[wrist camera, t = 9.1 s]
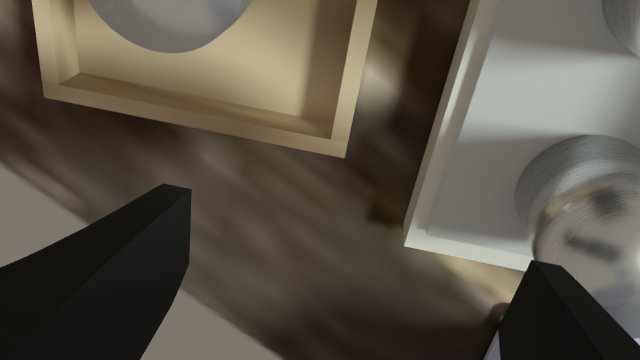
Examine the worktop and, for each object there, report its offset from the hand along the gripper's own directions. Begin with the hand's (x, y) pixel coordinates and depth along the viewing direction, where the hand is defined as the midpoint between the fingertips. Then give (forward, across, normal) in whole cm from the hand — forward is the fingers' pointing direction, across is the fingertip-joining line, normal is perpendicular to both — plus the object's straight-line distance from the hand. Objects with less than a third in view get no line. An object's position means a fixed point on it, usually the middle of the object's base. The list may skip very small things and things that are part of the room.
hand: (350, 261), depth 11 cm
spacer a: (+7, -8, +1) cm, 11 cm away
